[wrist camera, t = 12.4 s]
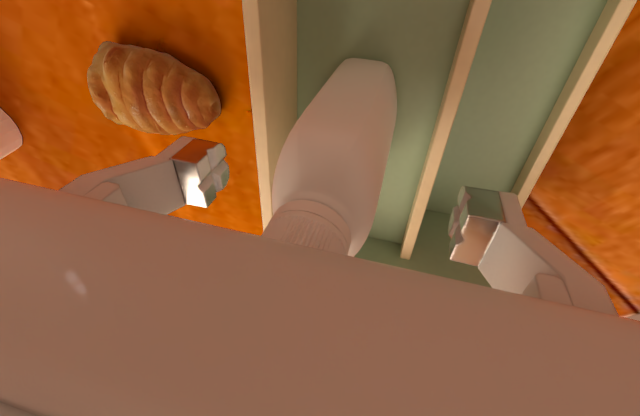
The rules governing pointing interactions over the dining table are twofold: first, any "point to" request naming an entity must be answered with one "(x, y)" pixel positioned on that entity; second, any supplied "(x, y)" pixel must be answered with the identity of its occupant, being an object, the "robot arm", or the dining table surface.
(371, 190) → the eye dropper bottle
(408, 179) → the spice rack
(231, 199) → the dining table surface
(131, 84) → the pastry
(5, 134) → the white short cylinder
